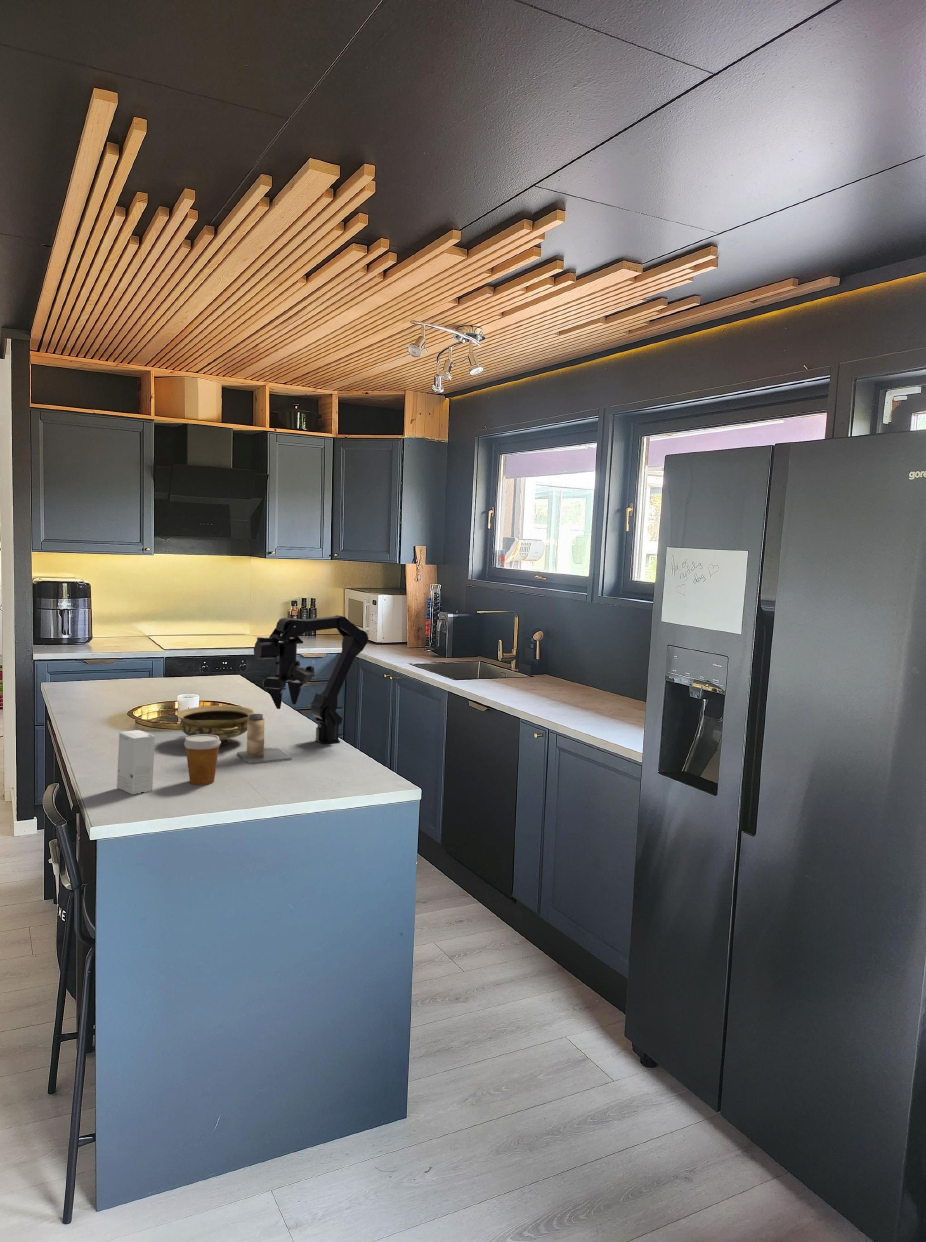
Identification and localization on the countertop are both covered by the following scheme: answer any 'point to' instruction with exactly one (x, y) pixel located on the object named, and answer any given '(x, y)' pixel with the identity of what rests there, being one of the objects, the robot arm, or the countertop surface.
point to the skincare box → (135, 761)
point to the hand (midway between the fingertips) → (286, 706)
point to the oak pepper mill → (255, 736)
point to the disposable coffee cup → (202, 757)
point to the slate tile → (266, 756)
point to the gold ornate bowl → (215, 721)
